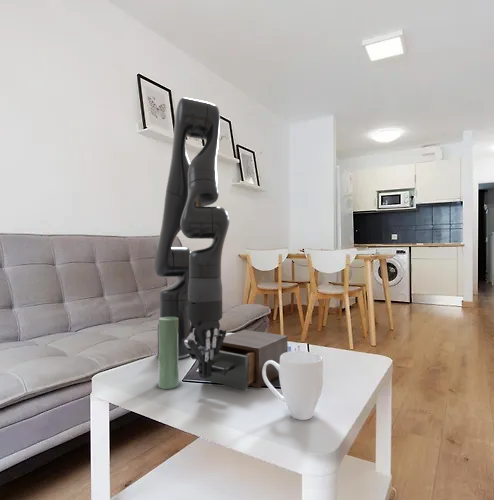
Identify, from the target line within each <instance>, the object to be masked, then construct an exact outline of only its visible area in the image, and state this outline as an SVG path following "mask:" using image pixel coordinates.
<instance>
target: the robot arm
mask: <svg viewBox="0 0 494 500" xmlns="http://www.w3.org/2000/svg"><path fill="white" fill-rule="evenodd" d="M220 113H221V112H220V109H219V107H218V105H216V104H215V103H211V102H208V101H204V100H199V99H194V98H190V97H189V98H188V97H182V98H180V99H179V101H178V103H177V107H176V110H175V116H174V126H173V127H174V128H173V139H172V149H171V150H172V151H171V159H170V166H169V171H168V177H167V183H166V190H165V196H164V205H163V212H162V220H161V228H160V232H159V236H158V241H157V245H156V250H155V255H154V263H153V264H154V266H153V267H154V272H155V274H156V276H158V277H159V278H176V280H175V282H174V283H172V284H171V285H169V286H166V287H164V288H162V289H161V290H160V292H159V318H161V317H177V318H178V360H179V359H180V360H181V359H185V358H188V357H190V358H191V360H195V361H196V360H197V361H198V365H199V369H198V375H199V378H201V379H202V378H205V379H206V378H209V377H211V373H212V359H213V358H214V355H217V354H218V353H219V350H220V348H221V345H222V343H223V340H224V338H225V336H227V329H222V328H221V324H220V320H222V319H223V284H222V255H223V249H224V244H225V240H226V237H227V234H228V230H229V227H230V215H229V214H228V211H227V210H226V209H225V208H224V207H222V206H211V205H213V204H215V203H216V202H217V201H218V199H219V196H220V195H219V192H220V191H219V180H218V179H219V178H218V155H219V146H220V145H219V144H220V133H221V132H220V130H221V129H220V128H221V114H220ZM187 138H193V139H199V140H205V144H203V145H204V146H203V147H202V148H201V149H200V150H199V152H198V153H197V154H196V155H195V156H194V157H193V159H192V160H190V157H189V154H188V149H187ZM180 231H181V233H182V234H183V236H184V237H185V238H187V239H191V240H192V239H195V240H198V239H202V240H203V239H205V240H206V239H207V240H209V239H211V240H212V241H211V244H210V245H209V246H207V247H205V248H200V249H195V250H191V249H190V248H189V247H188V246H173V245H174V242H175V240H176V237H177V236H178V234H179V233H180ZM157 355H158V356H159V323H158V324H157Z"/></svg>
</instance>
